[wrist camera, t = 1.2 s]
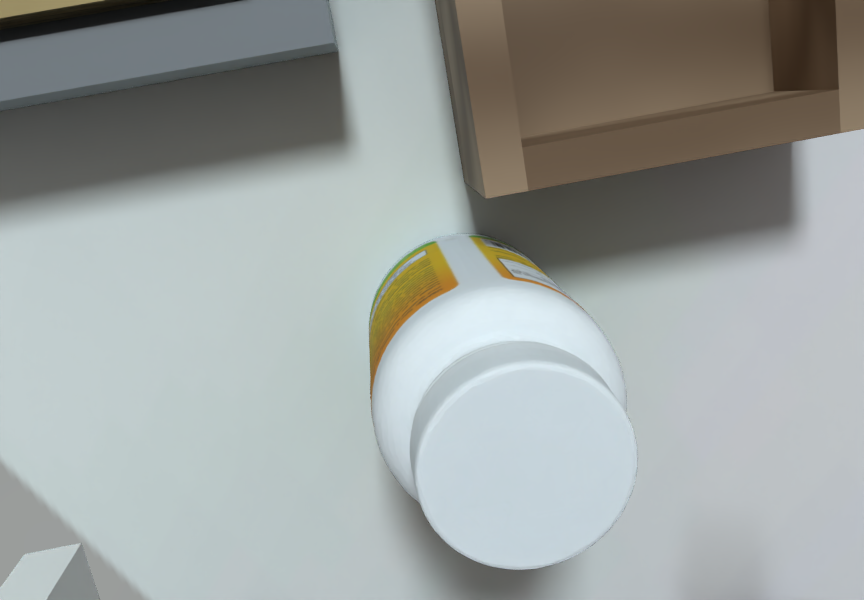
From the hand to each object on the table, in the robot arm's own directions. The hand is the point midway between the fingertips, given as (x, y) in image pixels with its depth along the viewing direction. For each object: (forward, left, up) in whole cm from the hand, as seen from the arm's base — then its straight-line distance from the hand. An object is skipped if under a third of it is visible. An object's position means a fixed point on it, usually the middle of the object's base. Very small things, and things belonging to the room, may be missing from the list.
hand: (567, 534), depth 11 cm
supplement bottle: (0, 0, -13) cm, 13 cm away
